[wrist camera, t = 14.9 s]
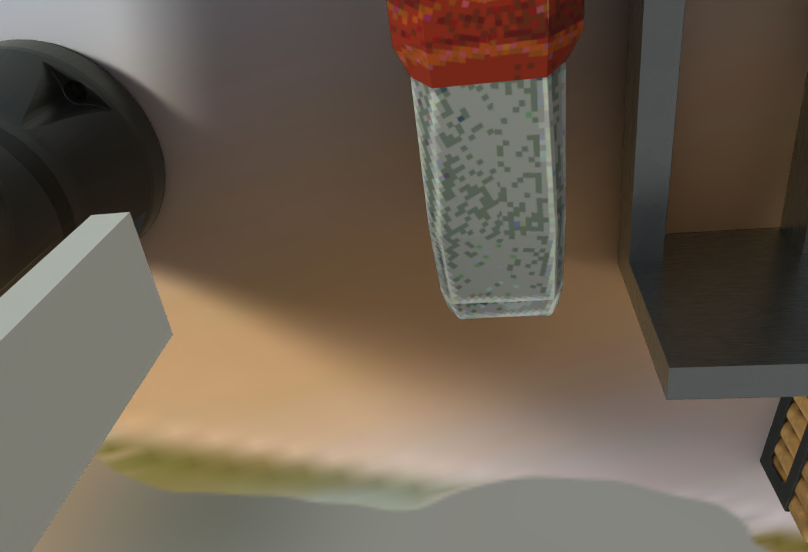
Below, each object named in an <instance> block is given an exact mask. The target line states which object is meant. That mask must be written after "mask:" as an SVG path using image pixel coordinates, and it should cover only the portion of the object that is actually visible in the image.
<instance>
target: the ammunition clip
mask: <svg viewBox="0 0 808 552" xmlns="http://www.w3.org/2000/svg"><path fill="white" fill-rule="evenodd" d="M760 462H761V464H762V466H763V468H764V470H765V472H766V474H767V476H768V478H769V480H770V482H771V484H772V486H773V488H774V490H775V492H776V494H777V496H778V498H779V500H780V502H781V504H782V506H783V508H784V510H785V511H787V512H789V511H790V512H791V514H792V516H793V518H794V520H795V522H796V524H797V526H798V528H799V531H800V533H801V535H802V536H803V538H804V540H805V541H806V542H807V544H808V396H801V397H781V399H780V402H779V405H778V408H777V411H776V414H775V417H774V420H773V423H772V426H771V429H770V432H769V435H768V438H767V441H766V444H765V447H764V450H763V453H762V456H761V459H760Z"/></svg>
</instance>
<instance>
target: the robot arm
mask: <svg viewBox="0 0 808 552" xmlns="http://www.w3.org/2000/svg"><path fill="white" fill-rule="evenodd" d="M164 189H165V169H164V162H163V156H162V152H161V149H160V145H159V143H158V140H157V137H156V135H155V132H154V130H153V128H152V126H151V124H150V122H149V120H148V119H147V117H146V115H145V114H144V112H143V111H142V109H141V108H140V106H139V105H138V104H137V102H136V101H135V100H134V98H133V97H132V96H131V95H130V94H129V93H128V91H127V90H126V89H125V88H124V87H123V86H122V85H121V84H120V83H119V82H118V81H117V80H115V79H114V78H113V77H112V76H111V75H110V74H108V73H107V72H106V71H105V70H103V69H102V68H101V67H99V66H98V65H96V64H95V63H93V62H92V61H90V60H88V59H86V58H85V57H83V56H81V55H79V54H77V53H75V52H73V51H70V50H68V49H65V48H63V47H60V46H57V45H54V44H50V43H46V42H41V41H35V40H6V41H0V552H32V551H33V549H34V548H35V546H36V545H37V543H38V542H39V540H40V538H41V537H42V535H43V534H44V532H45V531H46V529H47V528H48V526H49V525H50V523H51V521H52V520H53V518H54V517H55V515H56V514H57V512H58V511H59V509H60V508H61V506H62V505H63V503H64V502H65V500H66V498H67V497H68V495H69V494H70V492H71V491H72V489H73V488H74V486H75V485H76V483H77V481H78V480H79V478H80V477H81V475H82V474H83V472H84V470H85V469H86V468H87V466H88V464H89V463H90V461H91V460H92V458H93V457H94V455H95V454H96V452H97V451H98V449H99V448H100V446H101V444H102V443H103V441H104V440H105V438H106V437H107V435H108V434H109V432H110V431H111V429H112V427H113V426H114V424H115V423H116V421H117V420H118V418H119V417H120V415H121V414H122V412H123V411H124V409H125V407H126V406H127V404H128V403H129V401H130V400H131V398H132V397H133V395H134V394H135V392H136V390H137V389H138V387H139V386H140V384H141V383H142V381H143V380H144V378H145V377H146V375H147V374H148V372H149V370H150V369H151V367H152V366H153V364H154V363H155V361H156V360H157V358H158V357H159V355H160V353H161V352H162V350H163V349H164V347H165V346H166V344H167V343H168V341H169V340H170V338H171V336H172V335H173V333H172V331H171V328H170V325H169V322H168V319H167V316H166V313H165V311H164V308H163V305H162V302H161V299H160V296H159V294H158V291H157V288H156V285H155V282H154V279H153V277H152V274H151V271H150V268H149V265H148V262H147V260H146V257H145V254H144V251H143V248H142V245H141V243H140V240H139V239H140V237H141V236H142V235H143V234H144V233H145V232H146V231H147V230H148V229H149V227H150V226H151V225H152V223H153V222H154V220H155V218H156V216H157V214H158V212H159V210H160V207H161V204H162V200H163V196H164Z"/></svg>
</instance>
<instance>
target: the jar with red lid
mask: <svg viewBox="0 0 808 552" xmlns="http://www.w3.org/2000/svg"><path fill="white" fill-rule="evenodd" d="M386 1H387V9H388V16H389V24H390V31H391V39H392V46H393V48H394V50H395V51H396V53H397V55H398V56H399V58H400V60H401V62H402V63H403V65H404V67H405V68H406V70H407V72H408V74H409V75H410V78H411V86H412V94H413V102H414V110H415V119H416V127H417V135H418V143H419V151H420V159H421V168H422V176H423V184H424V192H425V200H426V208H427V217H428V225H429V232H430V238H431V243H432V248H433V253H434V258H435V263H436V268H437V274H438V279H439V284H440V289H441V293H442V295H443V297H444V299H445V301H446V304H447V306H448V308H449V309H450V310H451V311H452V312H453V313H454V314H455V315H456V316H457V317H458V318H459V319H462V320H463V319H477V318H492V317H530V316H550V315H552V313H553V311H554V309H555V308H556V307H557V305H558V302H559V298H560V294H561V290H562V287H563V271H564V248H565V226H566V60H567V58H568V57H569V55H570V53H571V51H572V50H573V48H574V46H575V44H576V43H577V41H578V39H579V37H580V36H581V34H582V32H583V30H584V0H386Z"/></svg>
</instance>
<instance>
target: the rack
mask: <svg viewBox="0 0 808 552" xmlns="http://www.w3.org/2000/svg"><path fill="white" fill-rule="evenodd" d="M684 8H685V0H631V3H630V23H629V44H628V64H627V85H626V105H625V125H624V146H623V166H622V187H621V207H620V228H619V248H618V265H619V268H620V271H621V273H622V276H623V279H624V282H625V285H626V287H627V290H628V293H629V296H630V299H631V301H632V304H633V307H634V310H635V313H636V316H637V318H638V321H639V324H640V327H641V330H642V332H643V335H644V338H645V341H646V344H647V346H648V349H649V352H650V355H651V358H652V361H653V363H654V366H655V369H656V372H657V375H658V377H659V380H660V383H661V386H662V389H663V391H664V394H665V397H666V400H680V399H720V398H760V397H801V396H808V74H807V79H806V85H805V91H804V96H803V102H802V107H801V113H800V119H799V124H798V130H797V136H796V141H795V147H794V153H793V158H792V164H791V169H790V175H789V181H788V186H787V192H786V198H785V203H784V209H783V215H782V220H781V226H780V228H762V229H744V230H726V231H708V232H690V233H672V234H665V229H666V218H667V206H668V194H669V183H670V171H671V159H672V148H673V136H674V124H675V113H676V101H677V89H678V78H679V66H680V54H681V43H682V31H683V20H684Z"/></svg>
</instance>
